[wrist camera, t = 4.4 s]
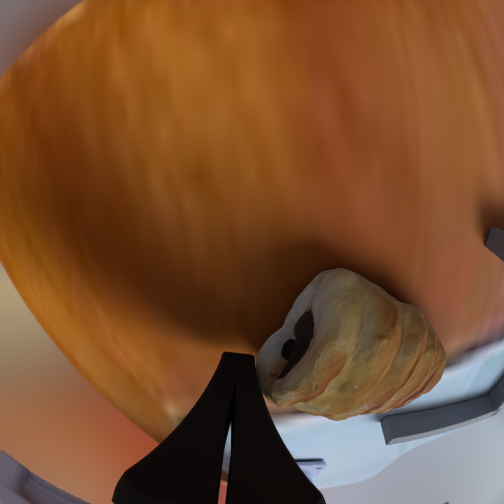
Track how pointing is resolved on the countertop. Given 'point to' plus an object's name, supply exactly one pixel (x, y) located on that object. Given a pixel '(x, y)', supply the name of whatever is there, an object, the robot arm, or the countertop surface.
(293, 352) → the pastry
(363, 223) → the countertop surface
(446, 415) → the tray slot
